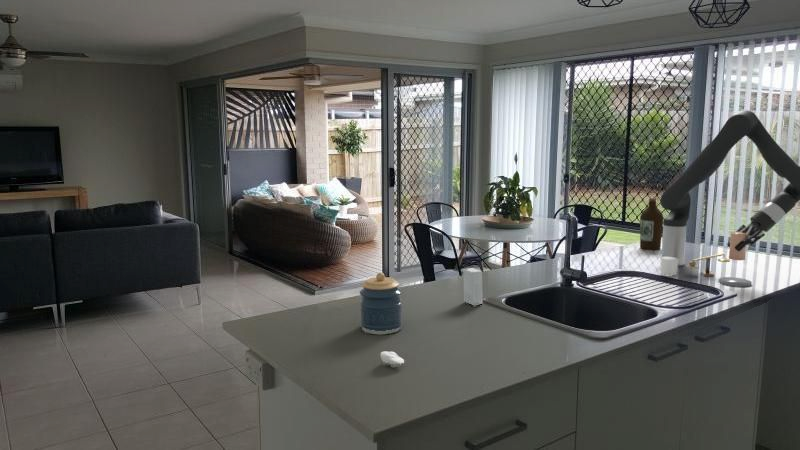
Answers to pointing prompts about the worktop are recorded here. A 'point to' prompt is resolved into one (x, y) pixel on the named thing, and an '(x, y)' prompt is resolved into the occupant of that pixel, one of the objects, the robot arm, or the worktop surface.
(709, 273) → the balance
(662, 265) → the shot glass
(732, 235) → the wooden block
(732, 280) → the dish
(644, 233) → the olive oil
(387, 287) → the canister
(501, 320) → the worktop surface
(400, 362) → the dumpling
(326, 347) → the worktop surface
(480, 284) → the skincare box
